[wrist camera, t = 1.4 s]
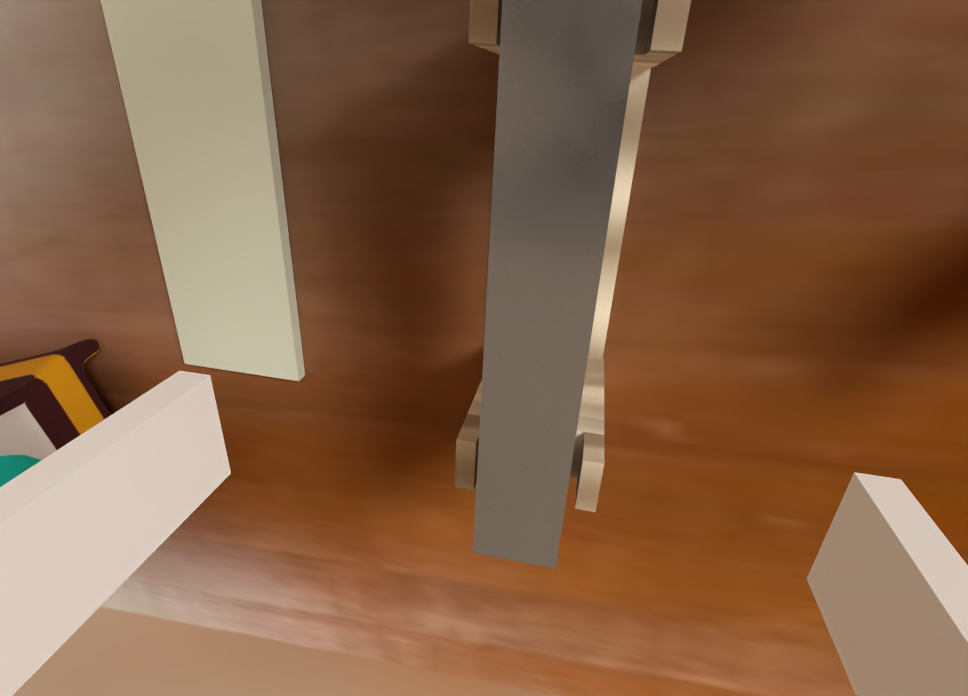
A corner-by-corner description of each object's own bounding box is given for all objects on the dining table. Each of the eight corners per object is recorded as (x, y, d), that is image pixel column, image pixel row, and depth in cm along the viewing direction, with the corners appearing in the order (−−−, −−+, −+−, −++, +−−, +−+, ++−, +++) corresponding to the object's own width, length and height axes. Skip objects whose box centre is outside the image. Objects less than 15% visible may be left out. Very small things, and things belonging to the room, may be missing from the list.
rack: (525, -36, 27) (473, -124, 16) (668, -34, 26) (715, -126, 15) (496, 392, 39) (454, 509, 28) (594, 406, 38) (591, 534, 27)
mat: (99, -63, 31) (84, -68, 30) (253, -62, 29) (243, -67, 28) (193, 358, 43) (184, 363, 42) (305, 375, 42) (298, 381, 41)
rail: (533, -99, 18) (510, -161, 14) (651, -99, 18) (667, -164, 13) (492, 484, 30) (472, 552, 25) (562, 497, 29) (555, 568, 25)
